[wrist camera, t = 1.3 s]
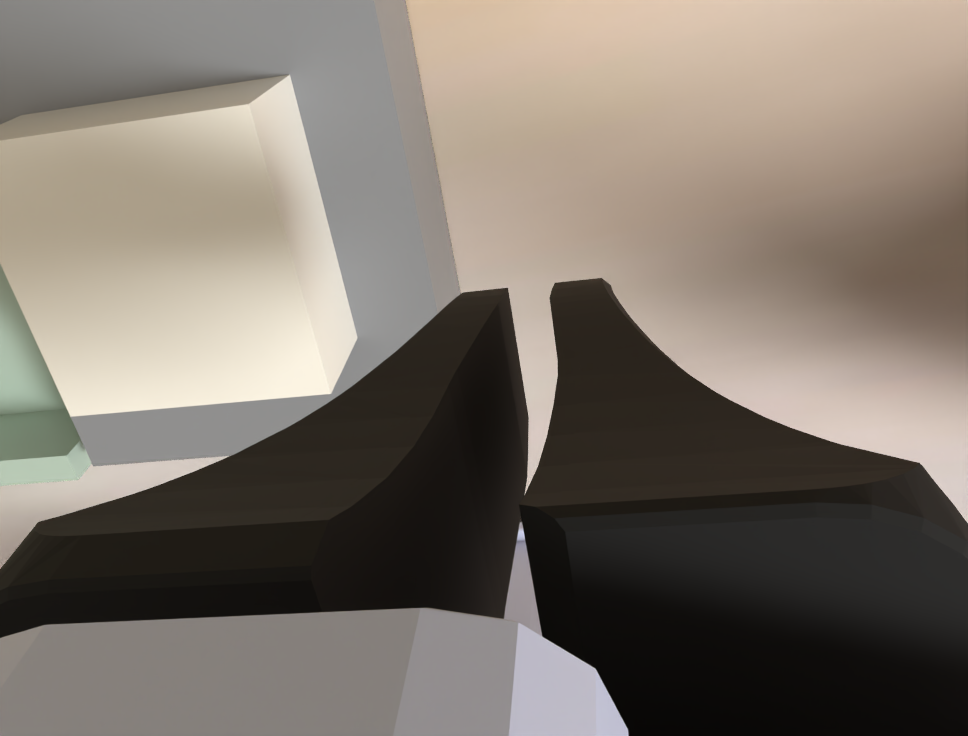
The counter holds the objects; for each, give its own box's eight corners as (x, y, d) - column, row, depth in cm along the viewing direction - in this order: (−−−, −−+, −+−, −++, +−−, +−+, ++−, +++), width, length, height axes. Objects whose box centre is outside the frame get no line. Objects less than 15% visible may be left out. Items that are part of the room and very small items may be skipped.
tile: (357, 337, 20) (331, 393, 18) (121, 361, 21) (70, 416, 19) (289, 74, 18) (249, 104, 15) (20, 115, 19) (-53, 148, 16)
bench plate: (476, 376, 24) (462, 437, 22) (142, 405, 26) (93, 466, 23) (383, -116, 18) (351, -112, 16) (-39, -37, 20) (-131, -23, 17)
